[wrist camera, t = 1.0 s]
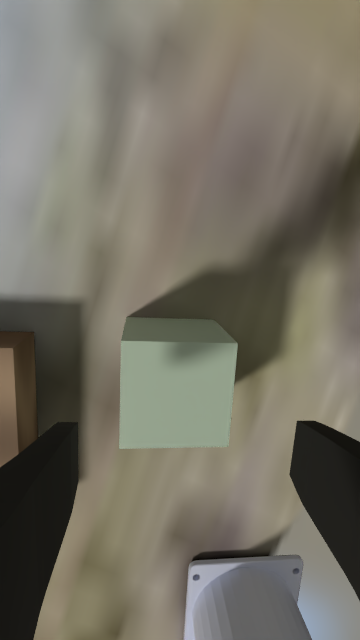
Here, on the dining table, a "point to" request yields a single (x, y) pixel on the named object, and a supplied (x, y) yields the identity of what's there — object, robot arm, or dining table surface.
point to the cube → (176, 383)
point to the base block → (17, 394)
